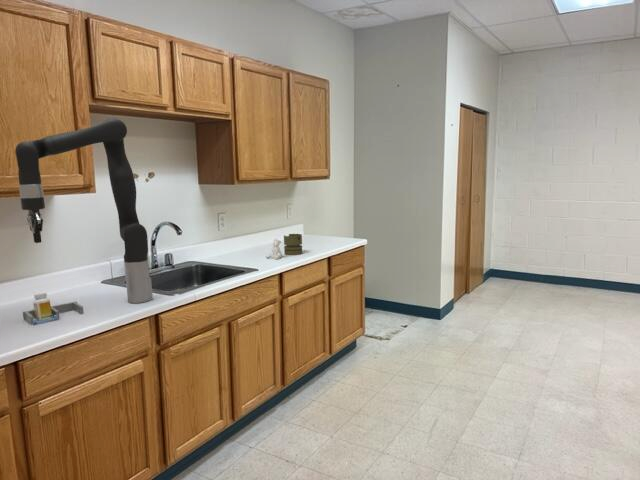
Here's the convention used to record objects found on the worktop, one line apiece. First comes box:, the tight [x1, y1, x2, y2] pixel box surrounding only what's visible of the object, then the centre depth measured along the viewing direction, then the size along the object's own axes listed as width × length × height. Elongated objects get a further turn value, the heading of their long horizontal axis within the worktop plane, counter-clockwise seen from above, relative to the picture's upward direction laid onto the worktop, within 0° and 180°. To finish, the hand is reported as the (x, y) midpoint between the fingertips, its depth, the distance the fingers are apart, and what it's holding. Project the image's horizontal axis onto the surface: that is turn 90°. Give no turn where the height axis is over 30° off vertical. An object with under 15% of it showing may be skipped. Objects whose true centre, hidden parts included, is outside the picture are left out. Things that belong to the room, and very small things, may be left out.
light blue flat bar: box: [32, 315, 60, 326], centre depth 178 cm, size 8×1×2 cm, turn 133°
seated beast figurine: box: [265, 238, 283, 261], centre depth 289 cm, size 10×9×12 cm
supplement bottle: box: [32, 292, 53, 321], centre depth 179 cm, size 5×5×10 cm
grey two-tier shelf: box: [22, 301, 84, 326], centre depth 184 cm, size 19×10×3 cm, turn 133°
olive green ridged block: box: [283, 233, 303, 256], centre depth 303 cm, size 11×12×11 cm
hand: (37, 242), depth 181 cm, fingers closed
